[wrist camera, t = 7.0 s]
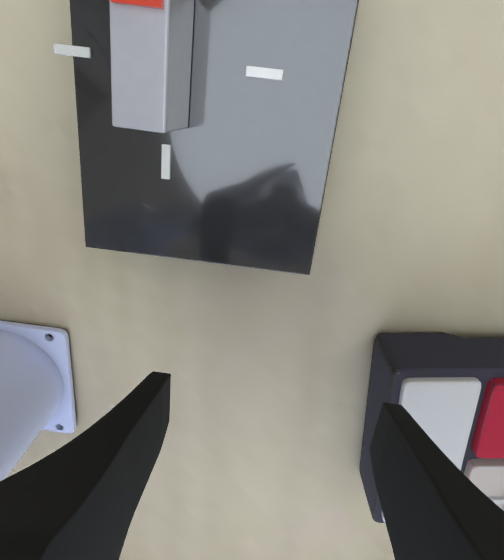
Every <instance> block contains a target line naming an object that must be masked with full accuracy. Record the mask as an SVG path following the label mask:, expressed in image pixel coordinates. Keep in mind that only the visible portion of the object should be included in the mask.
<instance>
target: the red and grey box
mask: <svg viewBox="0 0 504 560" xmlns="http://www.w3.org/2000/svg"><path fill="white" fill-rule="evenodd" d="M383 402H386V403H394V404H401V405H402V406H403V407H404V408H405V409H406V410H407V411H408V413H409V414H410V415H411V416H412V417H413V418H414V420H415V421H416V422H417V423H418V424H419V426H420V427H421V428H422V429H423V430H424V431H425V432H426V434H427V435H428V436H429V437H430V438H431V439H432V441H433V442H434V443H435V444H436V445H437V446H438V447H439V448H440V450H441V451H442V452H443V453H444V454H445V455H446V456H447V457H448V458H449V459H450V460H451V461H452V462H453V464H454V465H455V466H456V467H457V468H458V469H459V470H460V471H461V472H462V473H463V474H464V475H465V476H466V477H467V478H468V479H469V480H470V481H471V482H472V483H473V484H474V485H475V486H476V487H478V488H479V489H480V490H481V491H482V492H483V493H484V494H485V495H486V496H487V497H488V498H490V499H491V500H492V501H493V502H494V503H495V504H496V505H497V506H499V507H500V508H501V509H502V510H503V511H504V338H462V337H458V336H454V335H450V334H446V333H381V334H379V335H377V336H376V338H375V340H374V348H373V356H372V365H371V374H370V383H369V391H368V400H367V409H366V417H365V426H364V435H363V444H362V452H361V461H360V475H361V478H362V482H363V486H364V489H365V493H366V496H367V500H368V504H369V507H370V511H371V514H372V518H373V520H374V521H376V522H379V523H385V519H384V515H383V512H382V508H381V505H380V501H379V497H378V493H377V490H376V486H375V482H374V478H373V472H372V465H371V458H370V450H369V447H370V443H371V440H372V437H373V433H374V430H375V427H376V424H377V420H378V417H379V414H380V410H381V407H382V404H383Z"/></svg>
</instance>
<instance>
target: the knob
mask: <svg viewBox="0 0 504 560" xmlns="http://www.w3.org/2000/svg"><path fill="white" fill-rule="evenodd" d="M109 2H110V47H111V93H112V125H113V126H114V127H120V128H127V129H135V130H142V131H150V132H157V133H168V132H172V131H177V130H182V129H187V128H188V115H189V95H190V75H191V55H192V35H193V15H194V0H109Z"/></svg>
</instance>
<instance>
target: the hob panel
mask: <svg viewBox="0 0 504 560" xmlns="http://www.w3.org/2000/svg"><path fill="white" fill-rule="evenodd" d="M358 3H359V0H194V15H193V35H192V55H191V75H190V95H189V115H188V128H187V129H182V130H177V131H172V132H168V133H157V132H150V131H142V130H135V129H127V128H120V127H114V126H113V125H112V93H111V47H110V2H109V0H70V12H71V28H72V43H73V45H64V44H55V43H54V54H56V55H65V56H73V58H74V74H75V89H76V104H77V120H78V135H79V150H80V166H81V181H82V196H83V212H84V227H85V242H86V247H92V248H100V249H108V250H116V251H123V252H131V253H139V254H147V255H155V256H163V257H171V258H179V259H187V260H195V261H203V262H211V263H218V264H226V265H234V266H242V267H250V268H258V269H266V270H274V271H282V272H290V273H298V274H305V275H309V274H310V269H311V264H312V258H313V253H314V247H315V241H316V236H317V230H318V225H319V219H320V214H321V208H322V203H323V197H324V191H325V186H326V180H327V175H328V169H329V164H330V158H331V153H332V147H333V142H334V136H335V130H336V125H337V119H338V114H339V108H340V103H341V97H342V92H343V86H344V80H345V75H346V69H347V64H348V58H349V53H350V47H351V42H352V36H353V30H354V25H355V19H356V14H357V8H358Z"/></svg>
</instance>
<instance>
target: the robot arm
mask: <svg viewBox="0 0 504 560" xmlns="http://www.w3.org/2000/svg"><path fill="white" fill-rule="evenodd" d="M49 334H51V335H52V336H53V338H52V337H50V336H49ZM170 378H171V374H168V373H160V372H152V373H150V374H149V375H148V376H147V377H146V378H145V379H144V380H143V381H142V382H141V383H140V384H139V385H138V386H137V387H136V388H135V389H134V390H133V391H132V392H131V393H129V394H128V395H127V396H126V397H125V398H124V399H123V400H122V401H121V402H120V403H118V404H117V405H116V406H115V407H114V408H113V409H112V410H111V411H109V412H108V413H107V414H106V415H105V416H103V417H102V418H101V419H100V420H98V421H97V422H96V423H95V424H93V425H92V426H91V427H90V428H88V429H87V430H86V431H84V432H83V433H82V434H80V435H79V436H77V437H76V438H75V439H73V440H72V441H70V442H69V443H67V444H66V445H64V446H63V447H61V448H60V449H58V450H56V451H55V452H53V453H52V454H50V455H48V456H46V457H45V458H43V459H41V460H40V461H38V462H36V463H35V464H33V465H31V466H29V467H27V468H25V469H24V470H22V471H20V472H18V473H16V474H14V475H12V476H10V477H8V478H6V477H7V476H8V475H9V473H10V472H11V471H12V469H13V468H14V467H15V465H16V464H17V463H18V461H19V460H20V459H21V457H22V456H23V455H24V453H25V452H26V451H27V449H28V448H29V447H30V445H31V444H32V443H33V441H34V440H35V439H36V437H37V436H38V435H39V433H40V432H41V431H42V430H47V431H55V432H62V433H72V432H74V430H75V429H76V427H77V423H76V412H75V401H74V391H73V380H72V369H71V358H70V347H69V337H68V334H67V332H66V331H65V330H63V329H60V328H53V327H45V326H38V325H30V324H23V323H15V322H7V321H0V560H119V557H120V554H121V550H122V547H123V544H124V541H125V538H126V535H127V532H128V528H129V526H130V523H131V520H132V518H133V515H134V512H135V510H136V507H137V505H138V503H139V500H140V498H141V496H142V493H143V491H144V488H145V486H146V484H147V481H148V479H149V477H150V474H151V472H152V469H153V467H154V465H155V462H156V460H157V457H158V455H159V453H160V450H161V447H162V444H163V441H164V437H165V434H166V430H167V427H168V423H169V411H170ZM369 450H370V458H371V465H372V472H373V478H374V482H375V486H376V490H377V493H378V497H379V501H380V505H381V508H382V512H383V515H384V519H385V523H386V526H387V530H388V534H389V537H390V541H391V545H392V548H393V552H394V557H395V560H504V511H503V510H502V509H501V508H500V507H499V506H497V505H496V504H495V503H494V502H493V501H492V500H491V499H490V498H488V497H487V496H486V495H485V494H484V493H483V492H482V491H481V490H480V489H479V488H478V487H476V486H475V485H474V484H473V483H472V482H471V481H470V480H469V479H468V478H467V477H466V476H465V475H464V474H463V473H462V472H461V471H460V470H459V469H458V468H457V467H456V466H455V465H454V464H453V462H452V461H451V460H450V459H449V458H448V457H447V456H446V455H445V454H444V453H443V452H442V451H441V450H440V448H439V447H438V446H437V445H436V444H435V443H434V442H433V441H432V439H431V438H430V437H429V436H428V435H427V434H426V432H425V431H424V430H423V429H422V428H421V427H420V426H419V424H418V423H417V422H416V421H415V420H414V418H413V417H412V416H411V415H410V414H409V413H408V411H407V410H406V409H405V408H404V407H403V406H402V405H401V404H394V403H386V402H383V404H382V407H381V410H380V414H379V417H378V420H377V424H376V427H375V430H374V433H373V437H372V440H371V443H370V447H369Z"/></svg>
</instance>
